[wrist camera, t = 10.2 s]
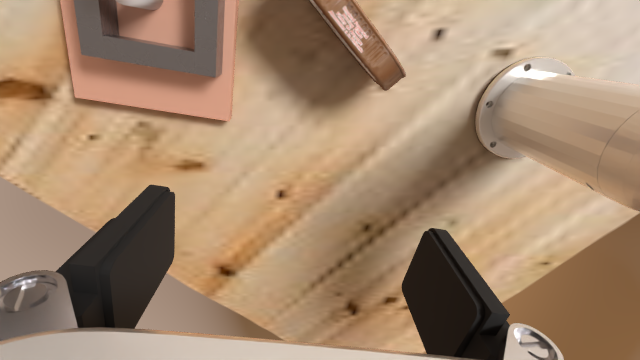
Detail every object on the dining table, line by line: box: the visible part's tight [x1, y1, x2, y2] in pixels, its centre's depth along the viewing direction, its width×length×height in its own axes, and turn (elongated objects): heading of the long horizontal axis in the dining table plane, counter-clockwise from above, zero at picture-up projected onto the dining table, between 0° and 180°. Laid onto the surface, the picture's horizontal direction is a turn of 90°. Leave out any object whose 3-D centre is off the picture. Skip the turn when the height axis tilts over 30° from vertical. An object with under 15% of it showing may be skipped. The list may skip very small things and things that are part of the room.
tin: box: [309, 0, 406, 91], centre depth 29 cm, size 15×3×8 cm, turn 42°
